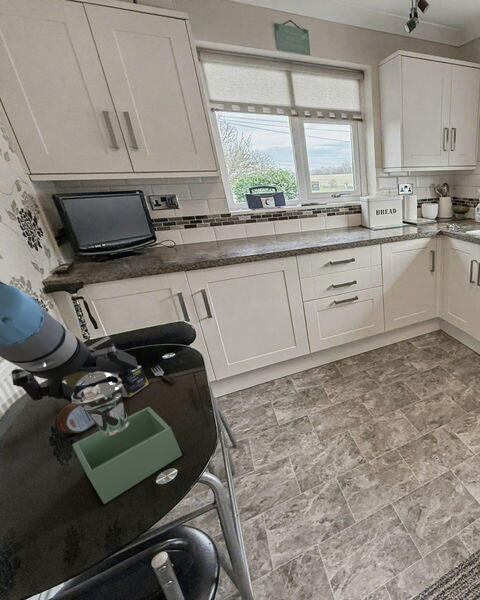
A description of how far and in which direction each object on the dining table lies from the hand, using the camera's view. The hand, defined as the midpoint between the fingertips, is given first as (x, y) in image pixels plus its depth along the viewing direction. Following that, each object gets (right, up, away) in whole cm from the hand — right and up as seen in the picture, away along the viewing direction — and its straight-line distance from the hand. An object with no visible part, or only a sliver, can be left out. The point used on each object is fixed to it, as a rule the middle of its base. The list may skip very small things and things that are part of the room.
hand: (103, 388), depth 71 cm
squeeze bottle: (-35, -11, +34) cm, 50 cm away
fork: (-15, -7, +39) cm, 43 cm away
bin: (+4, -19, +4) cm, 19 cm away
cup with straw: (+3, -9, +1) cm, 9 cm away
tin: (-20, -15, +21) cm, 32 cm away
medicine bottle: (-22, -10, +34) cm, 42 cm away
